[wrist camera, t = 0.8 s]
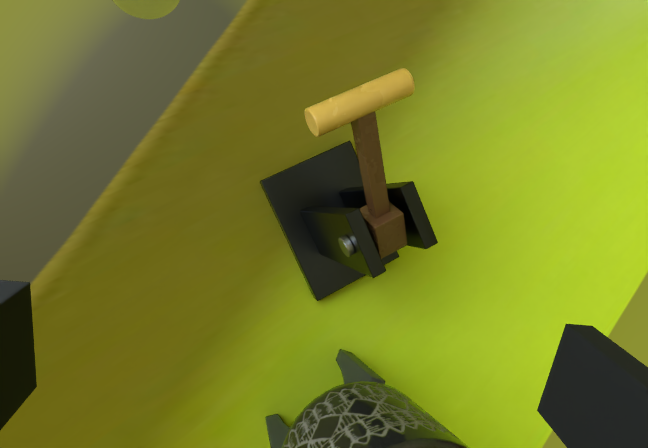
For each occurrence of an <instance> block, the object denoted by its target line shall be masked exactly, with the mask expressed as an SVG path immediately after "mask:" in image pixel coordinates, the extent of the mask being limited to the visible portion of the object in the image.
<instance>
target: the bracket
mask: <svg viewBox="0 0 648 448" xmlns="http://www.w3.org/2000/svg"><path fill="white" fill-rule="evenodd" d="M260 184H261V186H262V188H263V190H264V192H265V195H266V197H267V199H268V201H269V203H270V205H271V207H272V209H273V212H274V214H275V216H276V218H277V220H278V222H279V224H280V226H281V229H282V231H283V233H284V235H285V237H286V239H287V241H288V244H289V246H290V248H291V250H292V252H293V254H294V256H295V258H296V261H297V263H298V265H299V267H300V269H301V271H302V273H303V275H304V278H305V280H306V282H307V284H308V286H309V288H310V290H311V293H312V295H313V297H314V298H315V299H316V300H317V301H319V300H321V299H322V298H324V297H326V296H328V295H330V294H332V293H334V292H335V291H337V290H339V289H341V288H343V287H345V286H346V285H348V284H350V283H352V282H354V281H356V280H357V279H359V278H361V277H363V276H365V275H368V276H370V277H372V278H375V277H376V276H378V275H380V274H382V273H384V272H385V271H386V269H385V267H384V265H385V264H387V263H389V262H391V261H392V260H394V259H396V258H398V257H399V255H398V253H397V251H395V252H393V253H391V254H389V255H388V256H386V257H384V258H382V259H381V257H380V255H379V253H378V251H377V248H376V246H375V244H374V241H373V239H372V237H371V234H370V232H369V230H368V227H367V225H366V223H365V220H364V218H363V216H362V214H361V211H360V208H362V207H364V206H366V205H367V202H366V197H365V192H364V187H363V182H362V176H361V171H360V166H359V161H358V158H357V156H356V154H355V151H354V149H353V147H352V144H351V142H350V141H348V142H345V143H343V144H341V145H339V146H336V147H334V148H332V149H330V150H328V151H325V152H323V153H321V154H319V155H317V156H314V157H312V158H310V159H308V160H306V161H303V162H301V163H299V164H297V165H295V166H292V167H290V168H288V169H286V170H284V171H281V172H279V173H277V174H275V175H273V176H270V177H268V178H266V179H264V180H261V181H260ZM386 187H387V193H388V200H389V202H390V203H392V204H393V205H394V206H395V207H397V208H398V209H399V210H400V211H401V212H403V214H404V221H405V229H406V237H407V245H408V246H413V247H417V248H422V249H428V248H429V247H431V246H433V245H435V244H437V243H438V242H437V239H436V237H435V234H434V232H433V229H432V227H431V224H430V222H429V219H428V217H427V214H426V212H425V210H424V207H423V205H422V202H421V200H420V197H419V195H418V192H417V190H416V187H415V185H414V182H413V181H411V182H401V183H391V184H386Z"/></svg>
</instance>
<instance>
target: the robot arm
mask: <svg viewBox="0 0 648 448" xmlns="http://www.w3.org/2000/svg"><path fill="white" fill-rule="evenodd" d="M36 387H37V384H36V369H35V353H34V338H33V322H32V307H31V291H30V282H19V281H6V280H0V430H1V429H2V428H3V426H4V425H5V424H6V423H7V422H8V420H9V419H10V418H11V417H12V416H13V414H14V413H15V412H16V411H17V410H18V408H19V407H20V406H21V405H22V404H23V402H24V401H25V400H26V399H27V398H28V396H29V395H30V394H31V393H32V392H33V390H34V389H35V388H36ZM537 411H538V412H539V413H540V415H541V416H542V417H543V418H544V419H545V421H546V422H547V423H548V424H549V426H550V427H551V428H552V429H553V431H554V432H555V433H556V434H557V436H558V437H559V438H560V439H561V441H562V442H563V443H564V444H565V445H566V447H567V448H648V367H646V366H645V365H644V364H642V363H641V362H640V361H638V360H637V359H636V358H634V357H633V356H632V355H630V354H629V353H628V352H626V351H625V350H624V349H622V348H621V347H619V346H618V345H617V344H616V343H614V342H613V341H612V340H610V339H609V338H608V337H606V336H605V335H604V334H602V333H601V332H600V331H598V330H597V329H596V328H594V327H593V326H586V325H573V324H566V325H565V328H564V331H563V334H562V337H561V340H560V343H559V346H558V349H557V352H556V355H555V358H554V361H553V364H552V367H551V370H550V373H549V376H548V379H547V382H546V385H545V388H544V391H543V394H542V397H541V400H540V403H539V406H538V409H537Z"/></svg>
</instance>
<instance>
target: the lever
mask: <svg viewBox="0 0 648 448" xmlns="http://www.w3.org/2000/svg"><path fill="white" fill-rule="evenodd" d="M414 89H415V85H414V80H413V77H412V75H411V74H410V72H409V71H408V70H407V69H405V68H401V69H398V70H396V71H394V72H391V73H389V74H386V75H384V76H382V77H379V78H377V79H375V80H372V81H370V82H368V83H365V84H363V85H360V86H358V87H356V88H353V89H351V90H349V91H346V92H344V93H341V94H339V95H337V96H334V97H332V98H330V99H327V100H325V101H322V102H320V103H318V104H315V105H313V106H311V107H308V108H306V109H305V118H306V122H307V124H308V127H309V129H310V130H311V132H312V133H313V135H314V136H316V137H319V136H321V135H323V134H325V133H328V132H330V131H332V130H335V129H337V128H339V127H341V126H344V125H346V124H348V123H350V122H351V125H352V130H353V135H354V140H355V145H356V150H357V156H358V161H359V166H360V171H361V176H362V182H363V187H364V192H365V197H366V202H367V205H366V206H364V207H362V208H360V211H361V214H362V216H363V218H364V220H365V223H366V225H367V227H368V230H369V232H370V234H371V237H372V239H373V241H374V244H375V246H376V248H377V251H378V253H379V255H380V257H381V259H382V258H384V257H386V256H388V255H389V254H391V253H393V252H395V251H397V250H399V249H401V248H402V247H404V246H406V245H407V237H406V229H405V221H404V214H403V212H401V211H400V210H399V209H398V208H397V207H395V206H394V205H393V204H392V203H390V202H389V200H388V193H387V187H386V180H385V173H384V167H383V160H382V153H381V147H380V140H379V134H378V127H377V120H376V114H375V111H377V110H380V109H382V108H384V107H387V106H389V105H391V104H393V103H396V102H398V101H400V100H402V99H405V98H407V97H409V96H411V95H412V94H413V93H414Z"/></svg>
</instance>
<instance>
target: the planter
mask: <svg viewBox="0 0 648 448" xmlns="http://www.w3.org/2000/svg"><path fill="white" fill-rule="evenodd" d="M336 361H337V363H338V365H339V367H340V369H341V371H342V375H343V379H344V384H343V385H339V386H336V387H334V388H332V389H330V390H328V391H326V392H324V393H323V394H321V395H320V396H318V397H317V398H315V399H314V400H313V401H312V402H311V403H309V404H308V405H307V406H306V407H305V408H304V409H303V411H302V412H301V413H300V414H299V415H298V416H297V418H296V419H295V421H294V422H293V424H292V426H291V427H290V428H289V427H288V426H286V425H285V424H284V423H283V421H282V420H281V418H280V417H279V415H278V414H275V415H272V416H268V417H266V423H267V430H268V435H269V440H270V445H271V448H470V447H468V446H467V445H466V444H465V443H463V442H462V441H461V440H460V439H459V438H457V437H456V436H455V435H454V434H452V433H451V432H450V431H449V430H448V429H446V428H445V427H444V426H443V425H441V424H440V423H439V422H438V421H437V420H435V419H434V418H433V417H432V416H430V415H429V414H428V413H427V412H426V411H424V410H423V409H422V408H421V407H419V406H418V405H417V404H416V403H415V402H413V401H412V400H411V399H410V398H408V397H407V396H406V395H405V394H403V393H402V392H400V391H398V390H397V389H395V388H393V387H391V386H388V385H386V384H385V380H383V379H382V378H381V377H380V376H379V375H377V374H376V373H375V372H374V371H373V370H371V369H370V368H369V367H368V366H367V365H366V364H364V363H363V362H362V361H361V360H360V359H358V358H357V357H356V356H355V355H354V354H352V353H351V352H348V351H345V350H341V349H340V350H339V353H338V356H337V358H336Z"/></svg>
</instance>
